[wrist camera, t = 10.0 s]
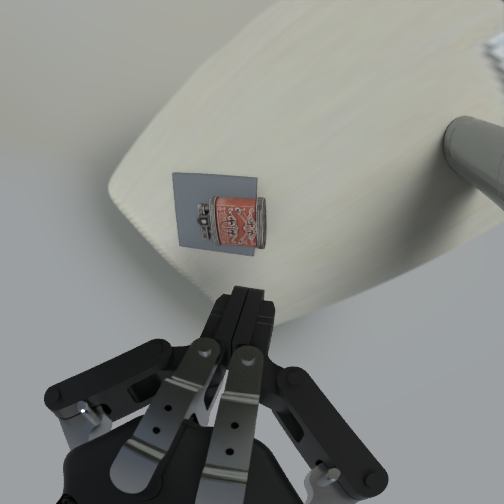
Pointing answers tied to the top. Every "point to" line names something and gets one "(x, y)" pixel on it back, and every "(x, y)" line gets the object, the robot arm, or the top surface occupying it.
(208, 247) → the mat
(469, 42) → the top surface
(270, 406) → the robot arm
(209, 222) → the lighter
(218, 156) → the top surface
